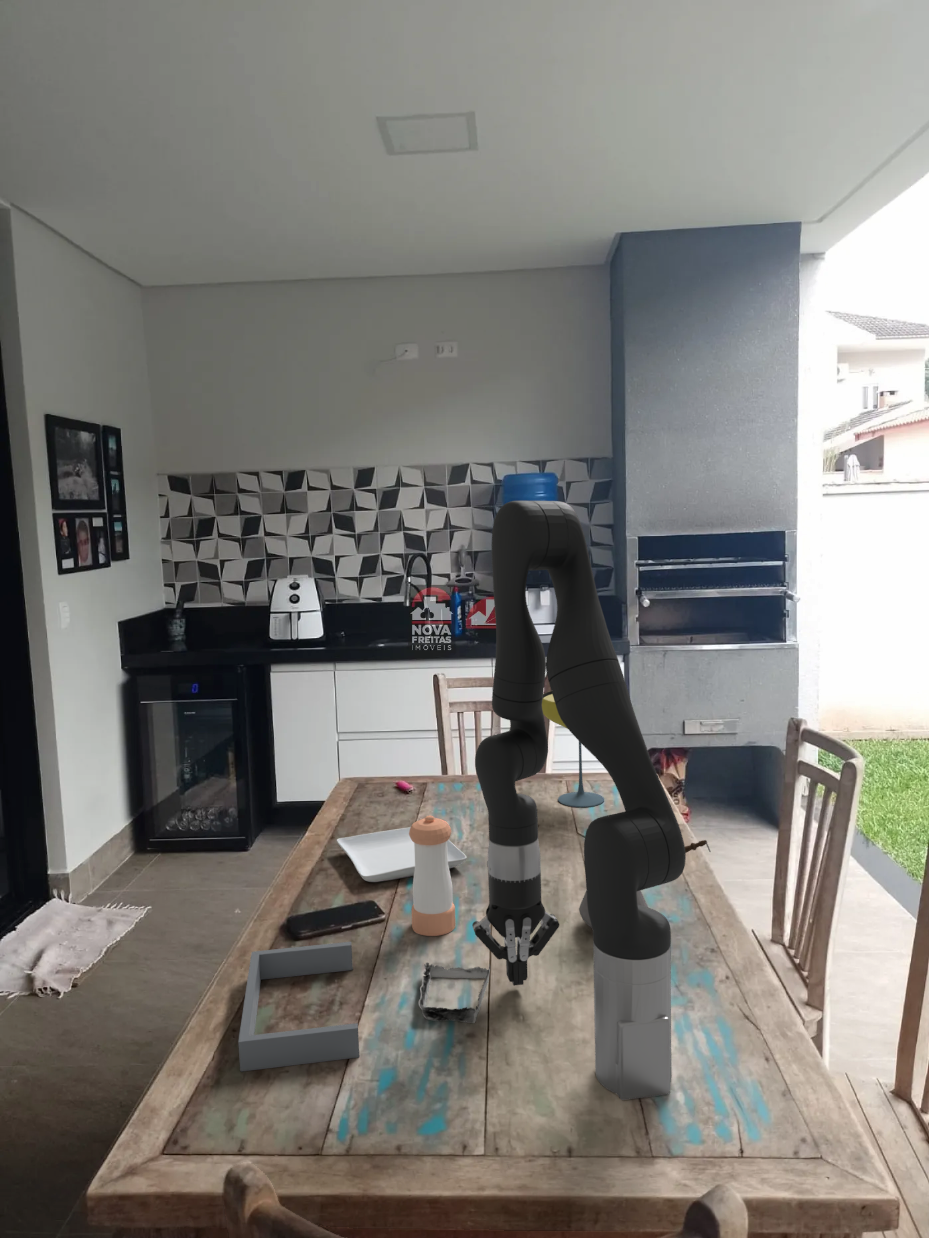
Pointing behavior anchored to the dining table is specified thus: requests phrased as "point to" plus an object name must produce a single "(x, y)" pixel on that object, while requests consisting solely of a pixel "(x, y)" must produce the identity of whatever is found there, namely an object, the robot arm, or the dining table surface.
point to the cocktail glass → (579, 797)
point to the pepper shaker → (432, 878)
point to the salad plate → (388, 854)
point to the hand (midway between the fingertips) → (517, 982)
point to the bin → (294, 1043)
